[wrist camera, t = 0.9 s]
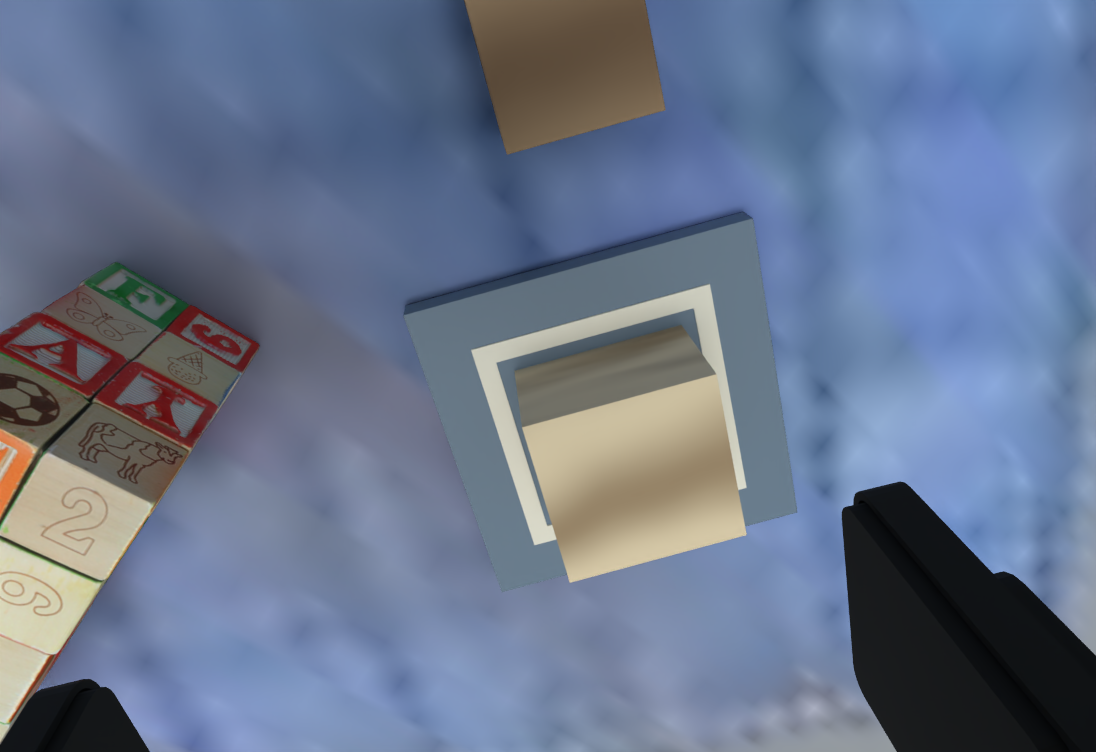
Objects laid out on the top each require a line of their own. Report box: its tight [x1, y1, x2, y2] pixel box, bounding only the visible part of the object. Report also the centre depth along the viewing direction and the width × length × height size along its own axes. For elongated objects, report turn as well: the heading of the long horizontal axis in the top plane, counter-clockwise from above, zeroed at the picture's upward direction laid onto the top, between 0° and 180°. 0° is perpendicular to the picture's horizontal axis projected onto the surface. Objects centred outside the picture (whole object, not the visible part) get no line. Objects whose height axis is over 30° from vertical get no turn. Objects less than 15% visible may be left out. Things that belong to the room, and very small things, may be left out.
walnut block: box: [464, 0, 665, 155], centre depth 26 cm, size 5×5×6 cm
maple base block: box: [514, 325, 746, 583], centre depth 31 cm, size 7×7×5 cm
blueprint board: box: [403, 212, 797, 592], centre depth 34 cm, size 14×14×1 cm
